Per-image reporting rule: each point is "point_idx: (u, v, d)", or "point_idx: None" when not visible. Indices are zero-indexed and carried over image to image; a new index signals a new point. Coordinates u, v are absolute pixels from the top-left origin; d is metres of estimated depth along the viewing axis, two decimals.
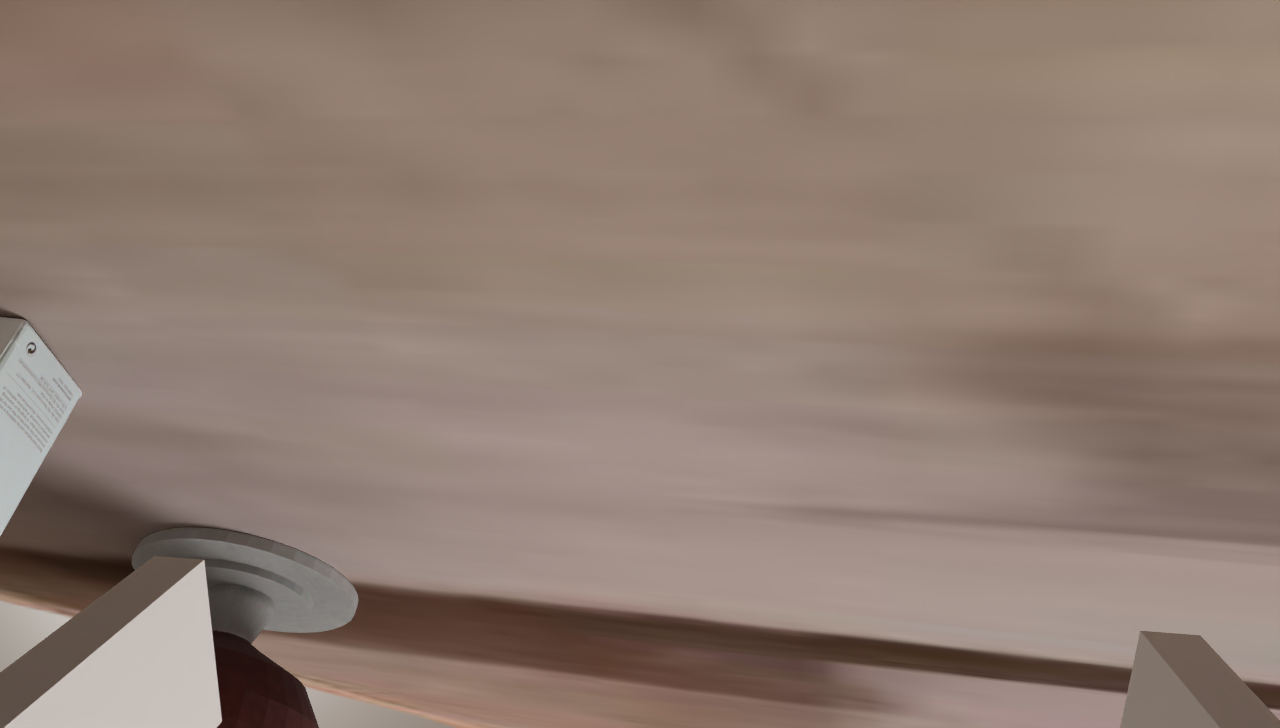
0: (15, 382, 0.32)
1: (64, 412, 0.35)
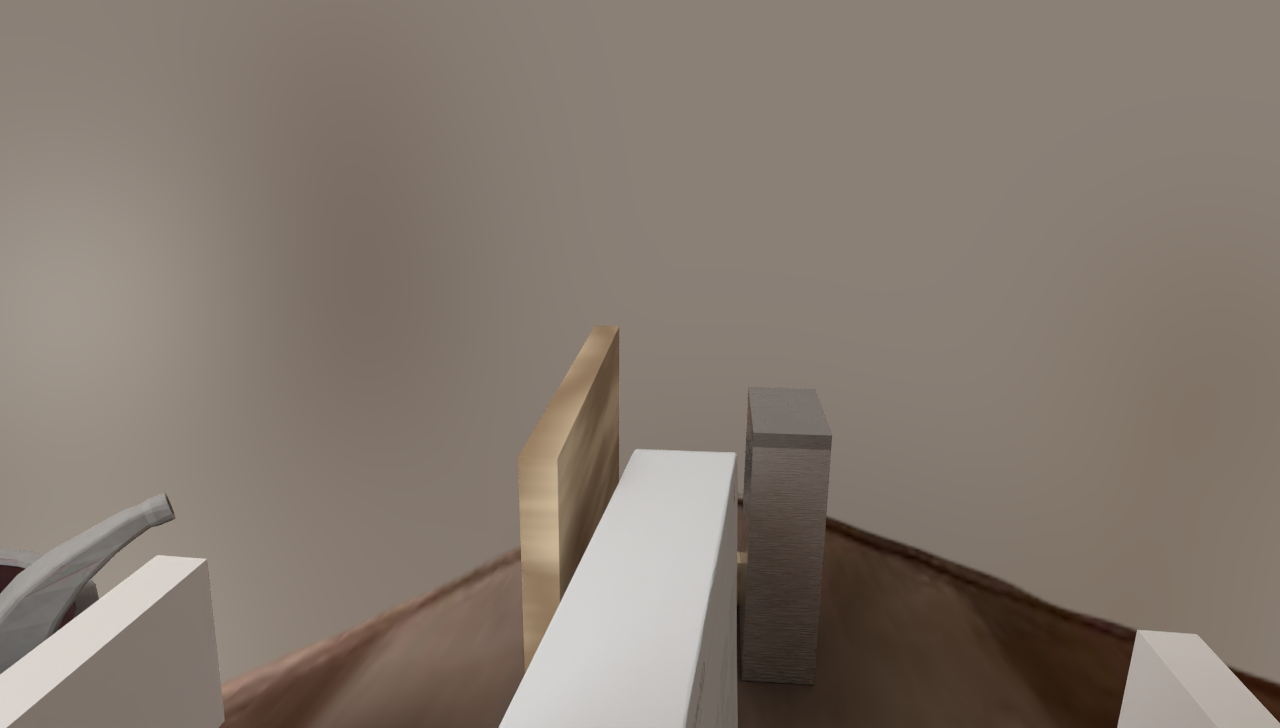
0: None
1: None
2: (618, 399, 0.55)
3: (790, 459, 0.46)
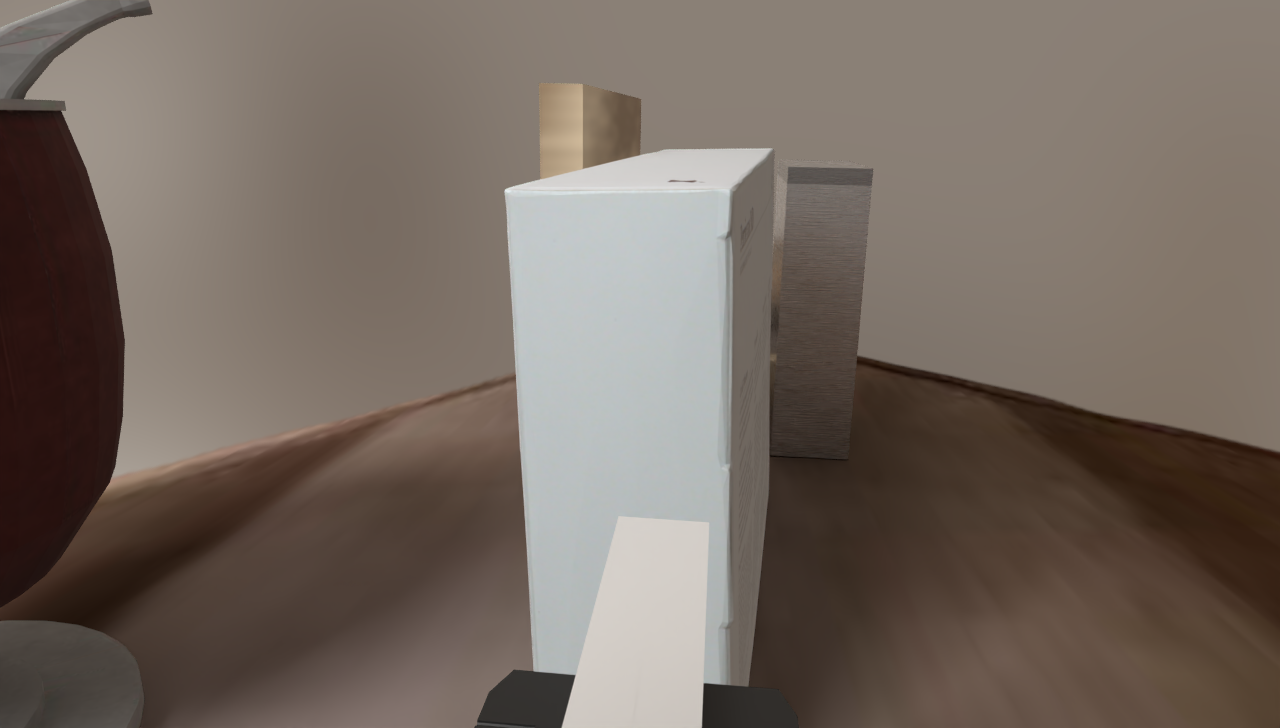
0: None
1: None
2: None
3: (827, 197, 0.42)
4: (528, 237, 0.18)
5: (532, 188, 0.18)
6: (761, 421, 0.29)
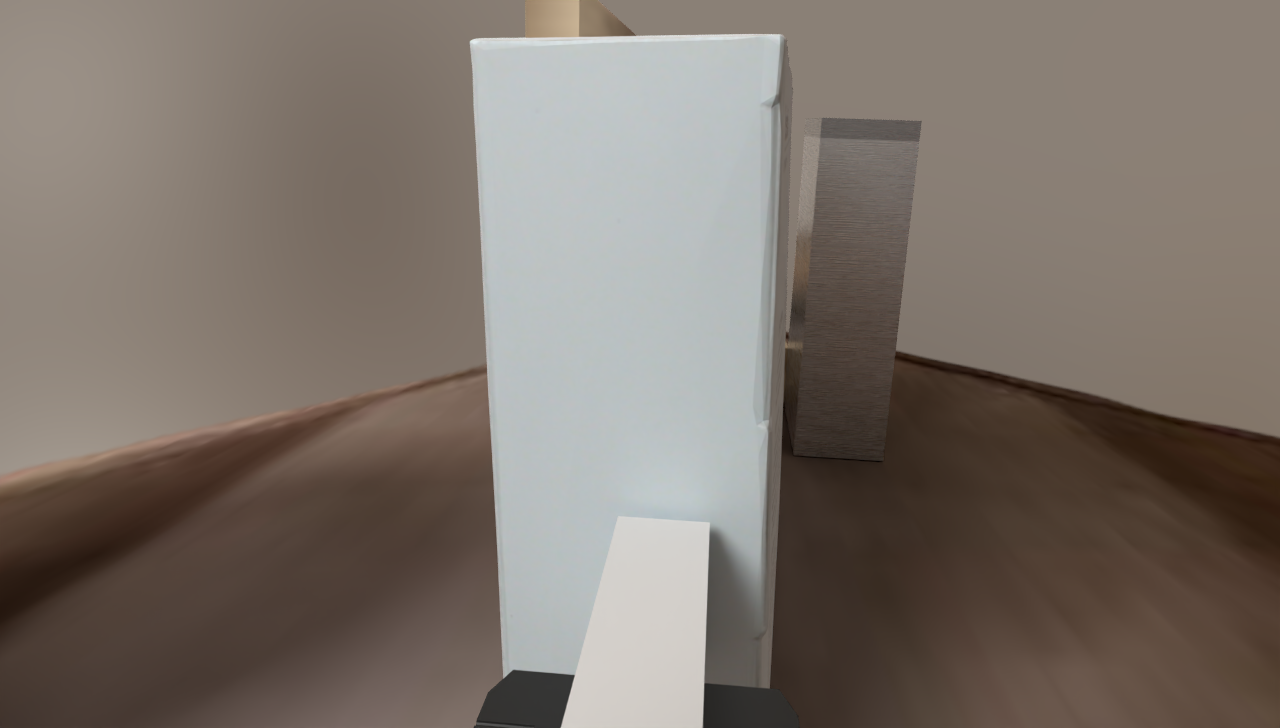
0: None
1: None
2: None
3: (866, 154, 0.36)
4: (501, 107, 0.13)
5: (507, 39, 0.13)
6: None
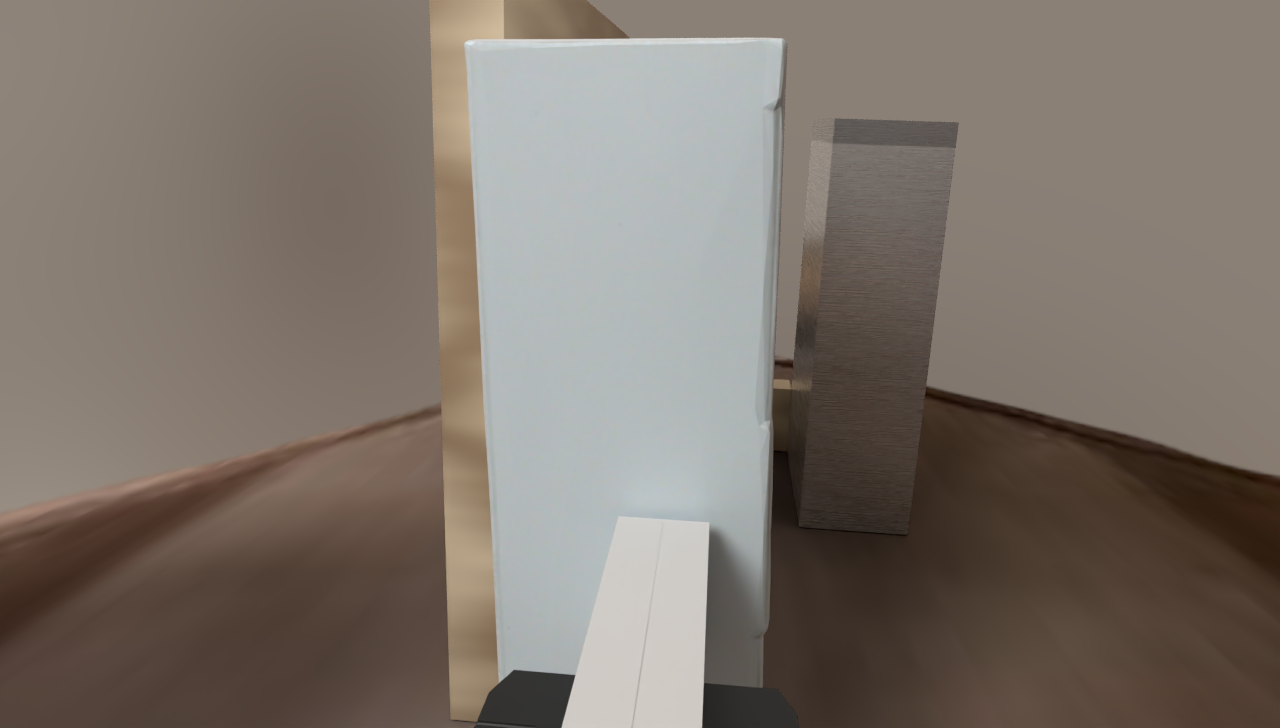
0: None
1: None
2: None
3: (890, 163, 0.29)
4: (498, 109, 0.13)
5: (504, 40, 0.13)
6: None
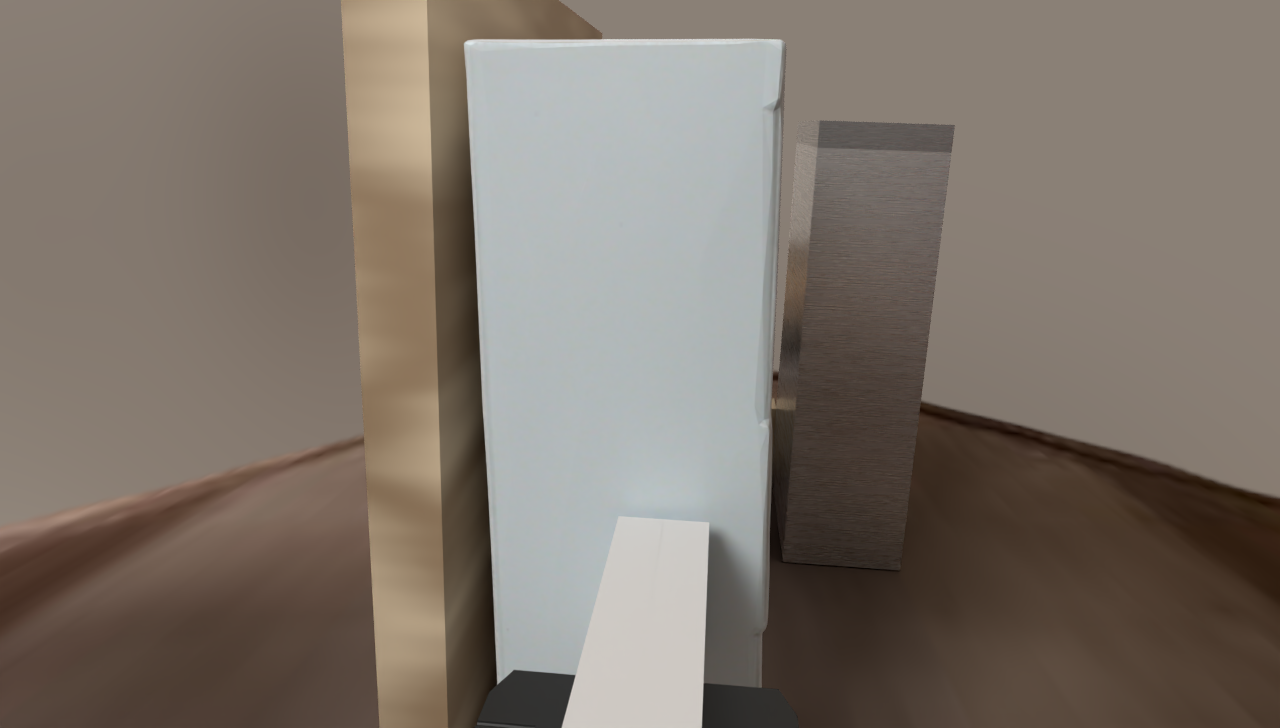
0: None
1: None
2: None
3: (880, 169, 0.27)
4: (498, 109, 0.13)
5: (503, 40, 0.13)
6: None
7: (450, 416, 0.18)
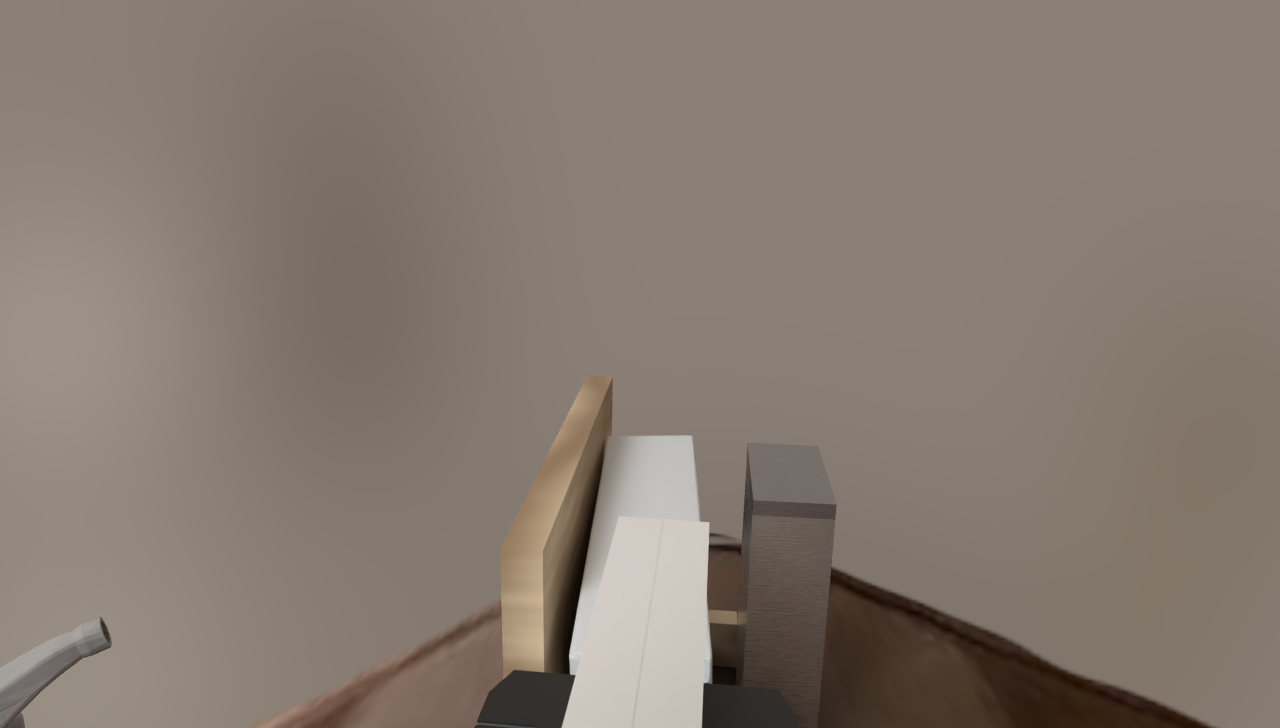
0: None
1: None
2: None
3: (791, 528, 0.43)
4: None
5: None
6: None
7: None
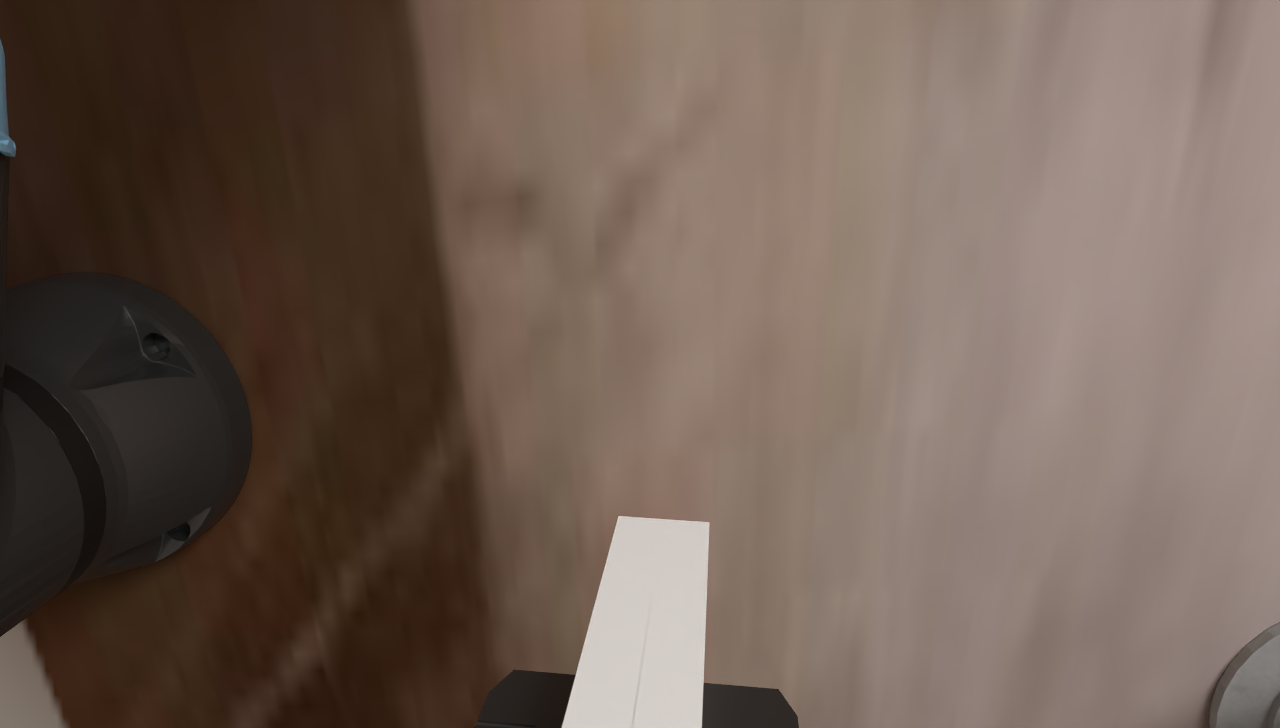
0: None
1: None
2: None
3: None
4: None
5: None
6: None
7: None
